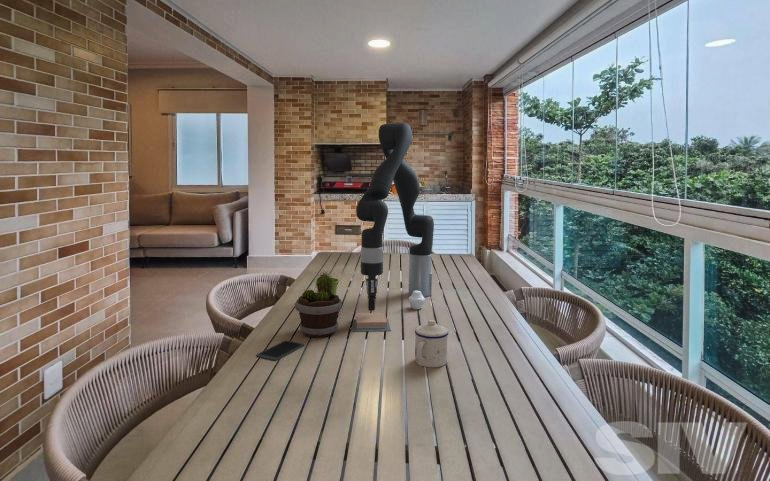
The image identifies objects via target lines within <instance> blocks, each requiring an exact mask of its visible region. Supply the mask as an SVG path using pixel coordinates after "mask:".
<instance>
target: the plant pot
mask: <svg viewBox="0 0 770 481" xmlns="http://www.w3.org/2000/svg"><path fill="white" fill-rule="evenodd" d="M316 279H317V278H316ZM316 279H315V280H316ZM330 279H331V280H334V281H333V284H331V285H332V287H333V289H331V290H332V291H331V292H332V294H334V295H336V294H337V290H338V284H339V282H340V279H339V278H336V277H330ZM315 280H314V283H315V284H316V285H317V282H316V281H317V280H318V279H317V280H316V281H315ZM331 282H332V281H331ZM332 287H331V288H332ZM317 288H318V287H317V286H316V289H317Z"/></svg>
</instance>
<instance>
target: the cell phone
mask: <svg viewBox="0 0 770 481" xmlns="http://www.w3.org/2000/svg"><path fill="white" fill-rule="evenodd" d="M303 347H305V344H304V343H301V342H296V341H291V340H283V341H281V342H279V343H277V344H275V345H273V346H271V347H269V348H267V349H265V350H263V351H261V352H259V353H257V354H256V355H255V357H256V358H258V359H263V360H267V361H272V362H277V361H279V360H281V359H283V358H284V357H287V356H289V355H292V353H294V352H296V351H297V350H299V349H301V348H303Z"/></svg>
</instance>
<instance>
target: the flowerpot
mask: <svg viewBox="0 0 770 481" xmlns="http://www.w3.org/2000/svg"><path fill="white" fill-rule="evenodd" d="M330 278H334V277H333V276H332V275H330V274H329V272H327V271H325V269H324V270H323V271H321V272H320V274H319V275H317V277H316V278H315V280H314V282H315V281H316V280H317V279H318V280H317V281H316V282H317V285H316V282H315V284H314V286H315V288H316V292H315V290H313V289H310V288H311V287H308V288H307V289H306V290H305V289H303V293H302V295H301V296H299V297H298V299H297V300H296V302H295V304H294V308H295V311H297V312H298V315H299V320H300V324H299V328H300V330H301V332H303V335H304V336H306V337H309V338H310V337H311V338H317V337H320V338H325V337H330V336H332V335H334V334H335V332H336V331H337V329H338V325H339V322H338V320H337V319H338V317H339V311H340V310H342V307H343V301H342V300H341V298H340V297H339V295H338V294H337V295H334V294H332V292H331V291H332V290H331V289H333V287H332V285H331V284H333V281H334V280H331V279H330ZM331 281H332V282H331ZM317 287H318V288H317ZM331 287H332V288H331Z"/></svg>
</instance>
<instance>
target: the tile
mask: <svg viewBox="0 0 770 481" xmlns="http://www.w3.org/2000/svg"><path fill="white" fill-rule="evenodd" d="M355 319H356V327H357V328H387V320H386V319H387V316H386V313H385V312H377V313H376V312H371V313H370V312H369V313H368V312H367V313H366V312H364V313H363V312H362V313H359V312H358V313H355Z"/></svg>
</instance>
